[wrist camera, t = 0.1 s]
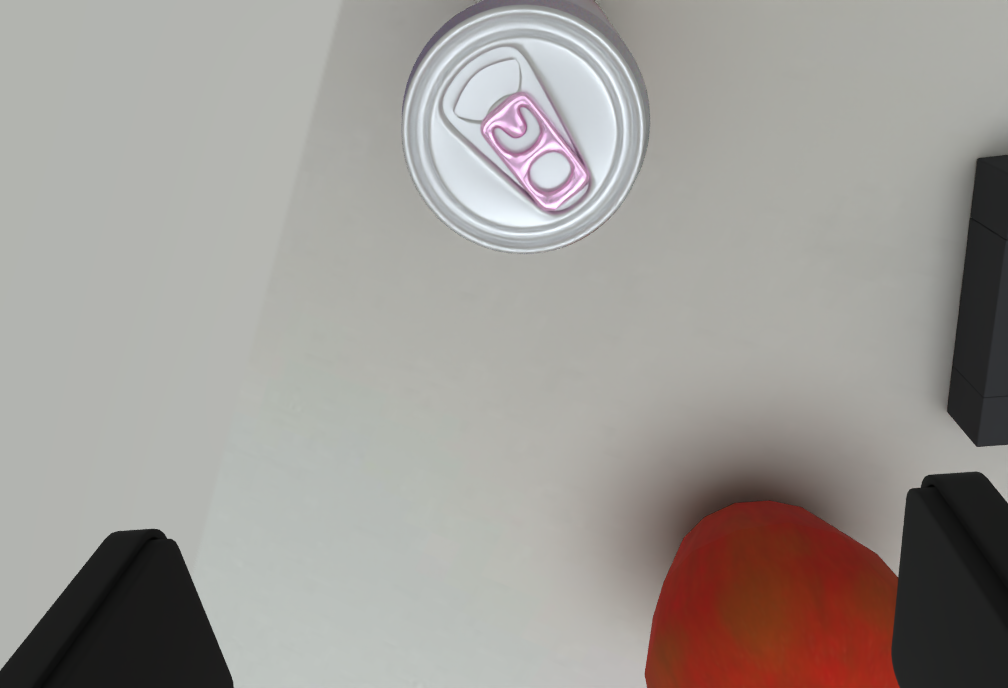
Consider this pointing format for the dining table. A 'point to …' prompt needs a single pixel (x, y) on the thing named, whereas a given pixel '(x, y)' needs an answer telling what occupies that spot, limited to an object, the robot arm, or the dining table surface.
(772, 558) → the apple
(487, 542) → the dining table surface
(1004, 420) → the socket pad
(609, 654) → the dining table surface
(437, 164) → the beverage can
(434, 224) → the dining table surface
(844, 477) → the dining table surface
